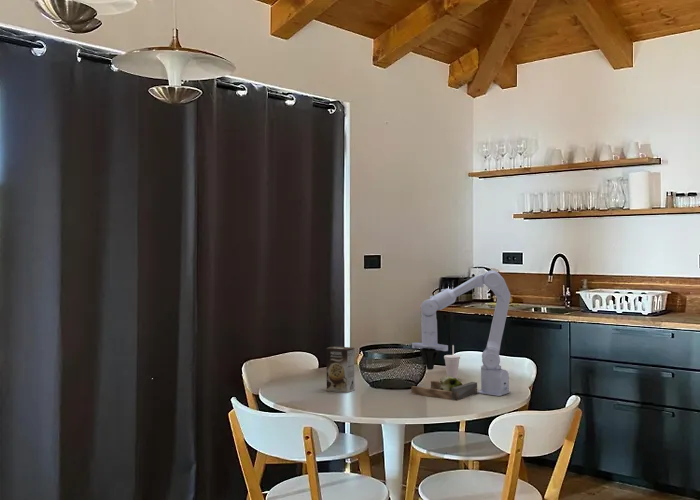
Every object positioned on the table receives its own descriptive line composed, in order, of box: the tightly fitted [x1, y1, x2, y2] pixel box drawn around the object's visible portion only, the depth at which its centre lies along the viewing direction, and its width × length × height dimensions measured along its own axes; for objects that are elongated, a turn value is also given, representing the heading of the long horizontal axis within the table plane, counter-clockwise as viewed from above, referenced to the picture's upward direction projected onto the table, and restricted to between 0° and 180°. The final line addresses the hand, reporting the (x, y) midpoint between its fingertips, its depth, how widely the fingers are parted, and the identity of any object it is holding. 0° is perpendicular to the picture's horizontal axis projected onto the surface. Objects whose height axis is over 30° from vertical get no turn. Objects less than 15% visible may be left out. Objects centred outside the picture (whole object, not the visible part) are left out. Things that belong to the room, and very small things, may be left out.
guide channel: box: [411, 380, 478, 401], centre depth 247 cm, size 19×14×4 cm
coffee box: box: [325, 345, 356, 394], centre depth 255 cm, size 9×6×16 cm
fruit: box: [439, 375, 464, 391], centre depth 247 cm, size 9×9×8 cm
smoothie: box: [443, 344, 461, 379], centre depth 272 cm, size 6×6×14 cm
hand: (430, 369), depth 251 cm, fingers closed
